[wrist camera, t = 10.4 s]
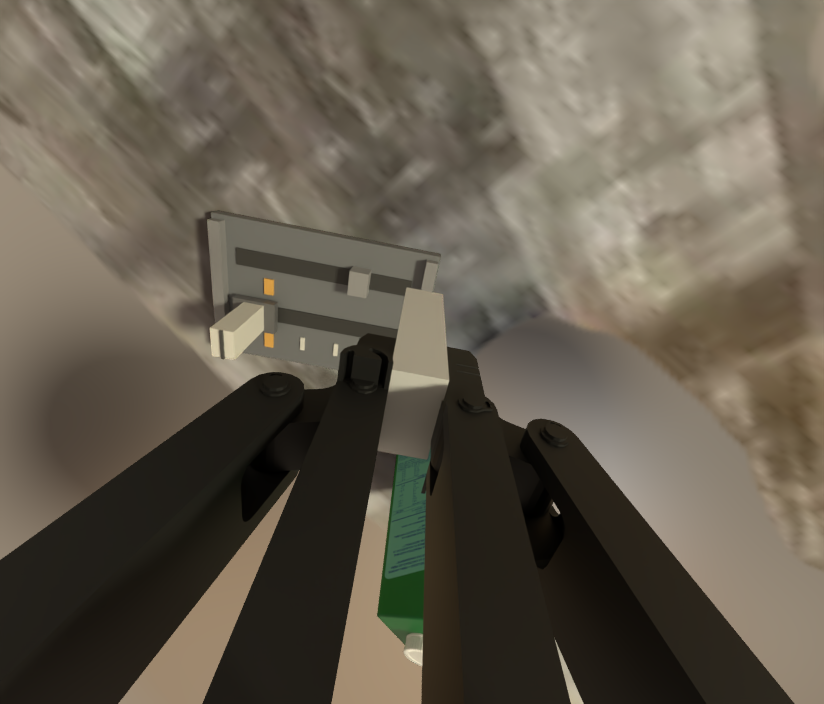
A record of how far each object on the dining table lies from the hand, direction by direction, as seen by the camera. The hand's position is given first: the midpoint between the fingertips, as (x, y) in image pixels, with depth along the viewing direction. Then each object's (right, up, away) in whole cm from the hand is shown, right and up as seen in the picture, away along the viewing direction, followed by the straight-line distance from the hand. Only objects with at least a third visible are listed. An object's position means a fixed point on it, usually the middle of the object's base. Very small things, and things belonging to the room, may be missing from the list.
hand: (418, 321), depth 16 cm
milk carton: (+4, -16, +38) cm, 42 cm away
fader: (-18, +3, +27) cm, 33 cm away
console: (-10, +5, +28) cm, 30 cm away
